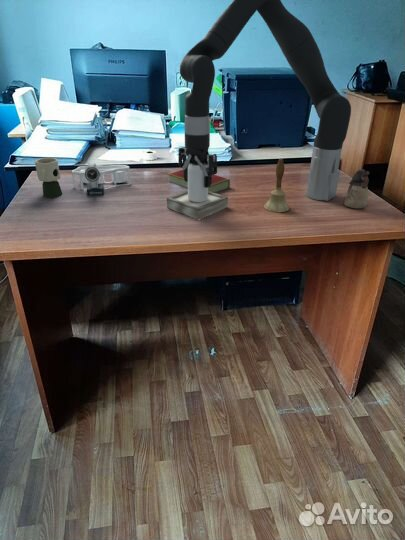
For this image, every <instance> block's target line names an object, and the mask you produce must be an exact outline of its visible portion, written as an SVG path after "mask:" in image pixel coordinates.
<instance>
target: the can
mask: <svg viewBox="0 0 405 540" xmlns="http://www.w3.org/2000/svg"><path fill="white" fill-rule="evenodd" d="M205 165H207V163H206V164H204V166H205ZM199 166H200V165H196V164H193V163H190V162H189V166H188V188H187V190H188V199H189V200H190V201H191V202H196V203H200V202H205V201H206V200H207V199H208V188H205V187H204V176H205V174H204V172H203V171H202V170H201V169H200V167H199ZM206 170H207V168H206ZM207 172H208V171H207Z"/></svg>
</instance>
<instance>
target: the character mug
mask: <svg viewBox="0 0 405 540" xmlns="http://www.w3.org/2000/svg"><path fill="white" fill-rule="evenodd" d="M34 164H35V170H36V173H37V179H38V181H39V182H42V195H43V197H44V198H46V199H56V198H59V197H61V196H62V194H63V191H62V187H61V185H60V183H59V181H58V180H60V179H61V173H60V167H59V161H58V159H57V158H56V157H42V158H38V159H35V160H34Z"/></svg>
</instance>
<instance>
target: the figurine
mask: <svg viewBox="0 0 405 540" xmlns="http://www.w3.org/2000/svg"><path fill="white" fill-rule="evenodd" d="M369 175H370V171H368V170H367V171H366V170H365V169H364V168H363V169H361V168H360V169H358V170H357V171H356V172H354V175H353V176H352V177H351V180H350V181H349V183H348V184H349V186H348V188H347V192H346V194H345V197H344V200H343V204H344V206H345V207H348V208H351V209H364V208H366V206H367V204H368V199H369V197H368V196H369V189H368V185H369V181H370V180H369V177H368V176H369Z"/></svg>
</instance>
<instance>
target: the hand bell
mask: <svg viewBox="0 0 405 540" xmlns="http://www.w3.org/2000/svg"><path fill="white" fill-rule="evenodd" d="M284 173H285V163H284V159H283V158H279V159H278V161H277V164H276V167H275V176H276V184H275V189H273V190H271V192H270V196H269V199H268V201H267V202H266V203H265V204H264V205H263V207H264V210H266V211H268V212H270V213H271V212H272V213H286V212H288V211H289V210H290V205H289V204H288V203H287V200H286V192H285V191H284V190H282V183H283V181H282V179H283V176H284Z"/></svg>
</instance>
